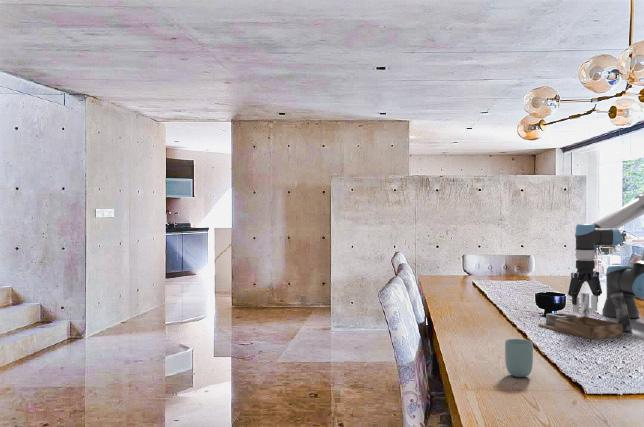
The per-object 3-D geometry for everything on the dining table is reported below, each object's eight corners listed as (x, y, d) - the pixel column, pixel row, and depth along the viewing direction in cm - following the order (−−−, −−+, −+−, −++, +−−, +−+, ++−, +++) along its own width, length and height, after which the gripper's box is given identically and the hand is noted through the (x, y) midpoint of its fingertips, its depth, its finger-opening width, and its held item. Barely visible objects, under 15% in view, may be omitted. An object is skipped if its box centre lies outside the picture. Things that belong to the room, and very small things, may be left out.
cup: (501, 372, 179) (501, 339, 179) (526, 371, 180) (526, 338, 180) (511, 379, 171) (511, 344, 171) (537, 378, 172) (537, 344, 172)
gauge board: (567, 323, 256) (567, 311, 256) (622, 335, 230) (622, 323, 230) (538, 326, 250) (538, 314, 250) (591, 339, 224) (591, 326, 224)
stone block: (619, 332, 237) (633, 330, 235) (608, 297, 239) (622, 294, 236) (619, 328, 245) (633, 326, 243) (608, 294, 247) (622, 291, 244)
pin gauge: (585, 322, 258) (585, 292, 258) (590, 323, 255) (590, 293, 255) (579, 323, 257) (579, 293, 257) (585, 324, 254) (585, 294, 254)
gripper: (597, 258, 264) (597, 308, 264) (558, 259, 255) (558, 311, 255) (611, 259, 257) (611, 311, 257) (572, 261, 248) (572, 314, 248)
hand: (585, 311), depth 256 cm, fingers open, 10 cm apart
